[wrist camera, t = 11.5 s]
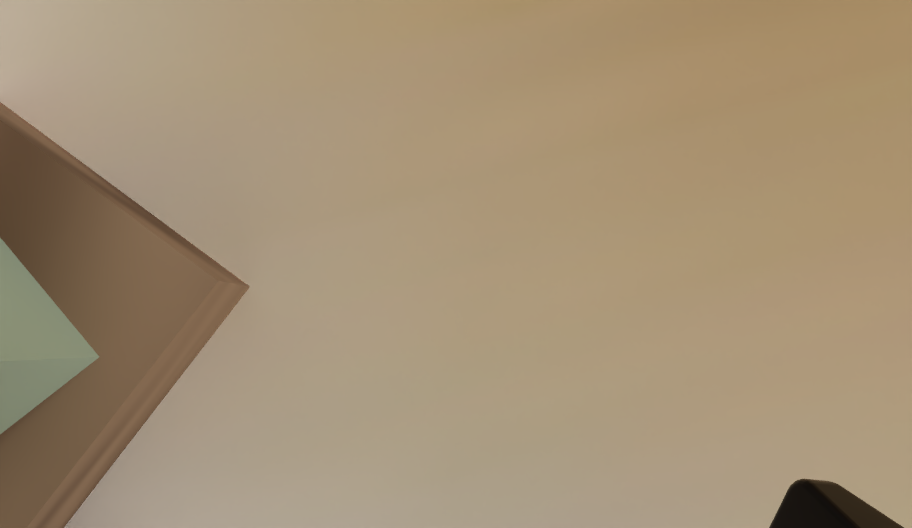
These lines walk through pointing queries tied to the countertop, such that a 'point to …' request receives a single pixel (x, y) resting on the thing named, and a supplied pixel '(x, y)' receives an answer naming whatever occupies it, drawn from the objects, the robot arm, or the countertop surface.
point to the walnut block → (96, 319)
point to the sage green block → (33, 342)
